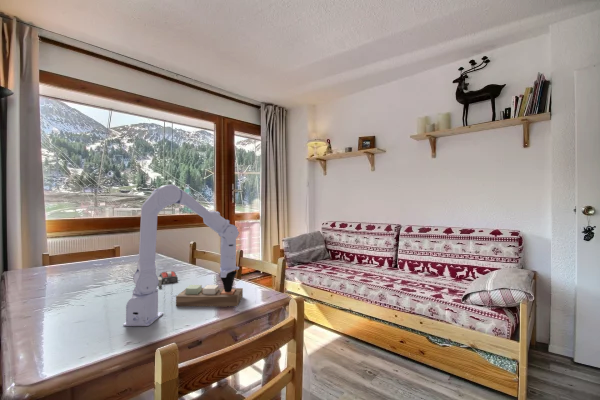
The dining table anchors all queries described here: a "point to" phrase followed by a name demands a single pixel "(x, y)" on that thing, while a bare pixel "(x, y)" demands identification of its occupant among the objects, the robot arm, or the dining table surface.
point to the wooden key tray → (209, 299)
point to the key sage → (193, 289)
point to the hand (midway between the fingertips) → (228, 291)
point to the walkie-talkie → (167, 277)
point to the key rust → (228, 292)
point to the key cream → (210, 289)
